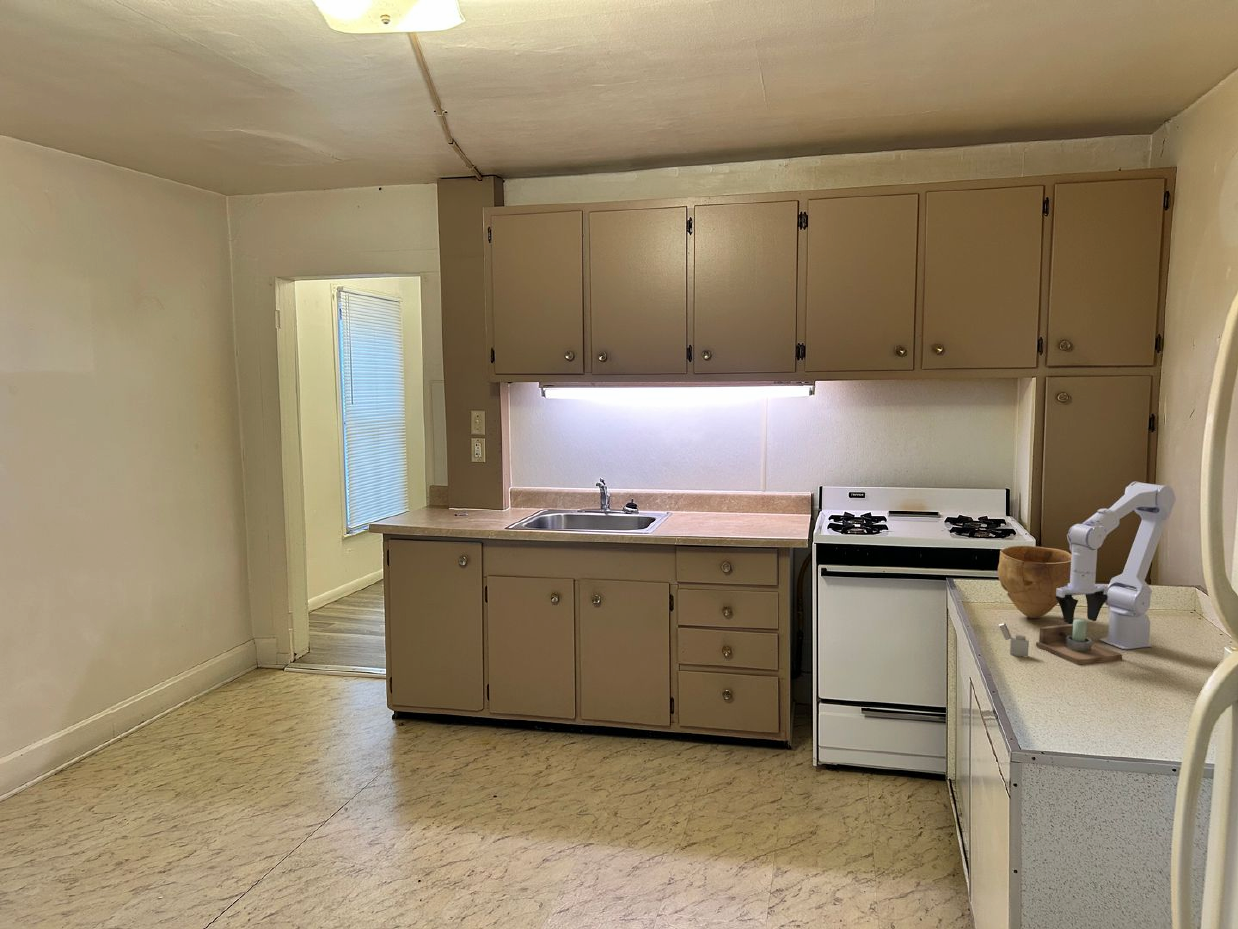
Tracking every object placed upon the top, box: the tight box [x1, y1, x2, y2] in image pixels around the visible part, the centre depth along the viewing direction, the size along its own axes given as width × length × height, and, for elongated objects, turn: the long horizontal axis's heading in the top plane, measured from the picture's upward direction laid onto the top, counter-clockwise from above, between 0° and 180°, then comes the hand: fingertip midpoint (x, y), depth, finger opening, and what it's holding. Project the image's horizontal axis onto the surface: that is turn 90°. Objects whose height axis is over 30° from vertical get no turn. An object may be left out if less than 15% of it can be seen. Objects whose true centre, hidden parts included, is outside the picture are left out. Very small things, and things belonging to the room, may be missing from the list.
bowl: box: [997, 545, 1072, 619], centre depth 246 cm, size 21×20×20 cm
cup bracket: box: [1035, 623, 1123, 666], centre depth 217 cm, size 14×14×5 cm
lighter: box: [998, 622, 1030, 658], centre depth 216 cm, size 7×2×8 cm, turn 59°
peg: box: [1072, 618, 1088, 642], centre depth 217 cm, size 3×3×7 cm
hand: (1080, 621), depth 216 cm, fingers open, 7 cm apart
